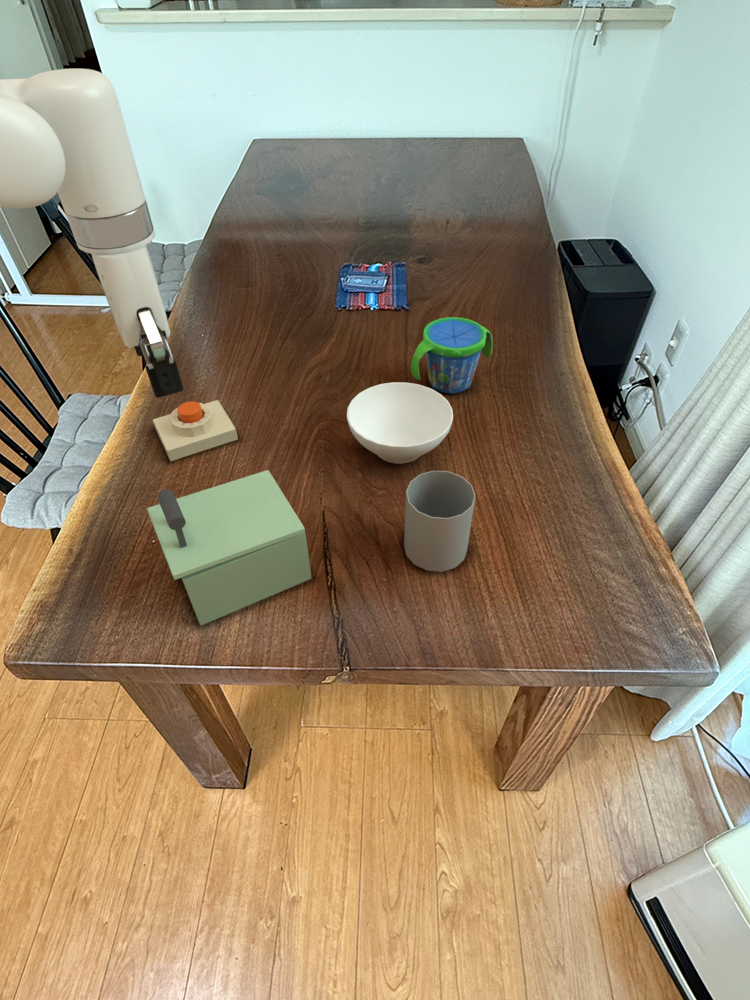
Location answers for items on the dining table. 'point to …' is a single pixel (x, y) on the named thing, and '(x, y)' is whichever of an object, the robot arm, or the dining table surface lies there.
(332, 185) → the dining table surface
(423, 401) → the bowl
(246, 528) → the lid
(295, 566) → the green hinged box
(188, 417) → the button
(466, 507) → the cup
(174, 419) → the panel
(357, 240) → the dining table surface
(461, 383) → the snack cup
